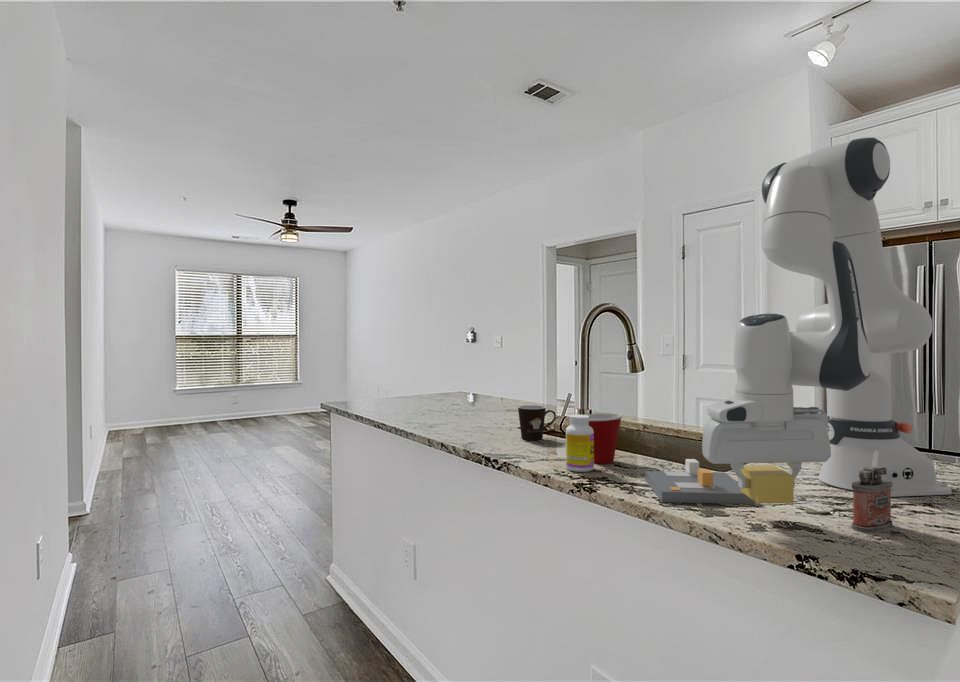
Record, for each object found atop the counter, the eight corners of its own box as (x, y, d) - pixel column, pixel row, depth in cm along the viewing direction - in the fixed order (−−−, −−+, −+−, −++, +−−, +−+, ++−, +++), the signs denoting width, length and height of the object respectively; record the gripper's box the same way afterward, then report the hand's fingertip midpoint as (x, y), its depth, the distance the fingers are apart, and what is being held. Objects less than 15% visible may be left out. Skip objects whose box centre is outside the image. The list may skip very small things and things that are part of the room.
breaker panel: (724, 481, 113) (724, 471, 113) (754, 504, 98) (754, 492, 98) (644, 480, 115) (644, 470, 115) (661, 502, 100) (661, 490, 100)
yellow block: (774, 490, 93) (774, 465, 93) (793, 503, 86) (793, 475, 86) (741, 491, 93) (740, 465, 93) (757, 503, 87) (756, 476, 87)
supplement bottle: (594, 473, 121) (593, 418, 120) (565, 472, 122) (565, 417, 122) (593, 466, 127) (593, 414, 127) (566, 465, 128) (566, 413, 128)
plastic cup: (584, 454, 139) (584, 410, 139) (626, 458, 134) (625, 412, 134) (574, 464, 129) (574, 416, 129) (618, 468, 125) (618, 419, 124)
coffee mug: (516, 441, 156) (516, 408, 156) (519, 436, 165) (519, 405, 165) (555, 442, 155) (555, 409, 154) (556, 437, 163) (555, 405, 163)
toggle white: (694, 470, 113) (694, 459, 113) (699, 474, 110) (699, 462, 110) (685, 470, 113) (685, 458, 113) (689, 473, 110) (689, 462, 110)
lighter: (868, 534, 83) (868, 472, 83) (846, 527, 86) (846, 467, 86) (898, 527, 86) (898, 467, 86) (875, 520, 89) (875, 462, 89)
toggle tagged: (708, 481, 105) (707, 469, 105) (713, 485, 102) (713, 473, 102) (697, 481, 105) (697, 468, 105) (702, 485, 102) (702, 472, 102)
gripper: (816, 403, 92) (818, 481, 92) (697, 406, 93) (700, 482, 94) (838, 409, 85) (840, 492, 86) (710, 412, 87) (712, 493, 87)
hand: (766, 487), depth 90 cm, fingers closed on yellow block, 6 cm apart
